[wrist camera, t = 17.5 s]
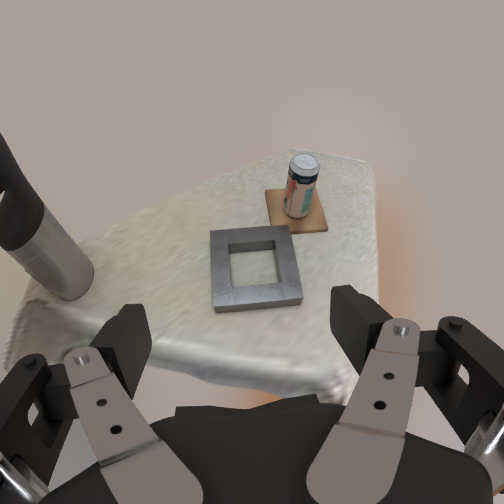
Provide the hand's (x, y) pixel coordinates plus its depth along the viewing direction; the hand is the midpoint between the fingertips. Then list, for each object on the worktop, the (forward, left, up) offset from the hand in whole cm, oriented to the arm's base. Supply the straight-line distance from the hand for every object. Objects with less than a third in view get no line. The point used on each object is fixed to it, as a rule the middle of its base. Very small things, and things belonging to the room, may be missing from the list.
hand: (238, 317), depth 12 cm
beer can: (+12, +28, -30) cm, 43 cm away
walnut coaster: (+12, +29, -31) cm, 44 cm away
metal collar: (+3, +17, -31) cm, 35 cm away
